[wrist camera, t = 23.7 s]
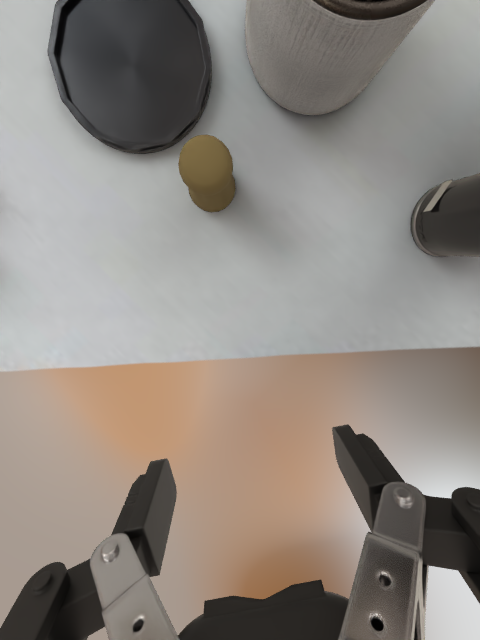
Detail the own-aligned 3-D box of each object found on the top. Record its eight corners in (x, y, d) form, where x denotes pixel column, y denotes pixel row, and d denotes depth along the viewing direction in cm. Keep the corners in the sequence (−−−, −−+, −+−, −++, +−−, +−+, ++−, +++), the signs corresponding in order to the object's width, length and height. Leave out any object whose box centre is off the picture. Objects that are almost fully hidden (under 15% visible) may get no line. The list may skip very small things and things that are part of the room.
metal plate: (192, -45, 31) (190, -58, 30) (225, 138, 36) (225, 133, 34) (31, -10, 32) (22, -22, 30) (83, 167, 36) (77, 163, 34)
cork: (182, 168, 36) (161, 133, 25) (228, 155, 36) (227, 114, 25) (196, 217, 38) (182, 204, 27) (240, 205, 37) (245, 186, 27)
